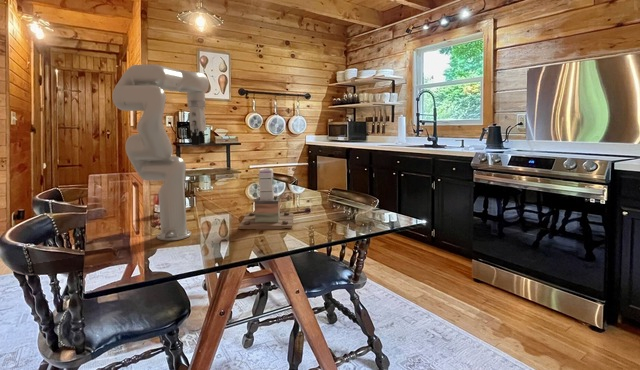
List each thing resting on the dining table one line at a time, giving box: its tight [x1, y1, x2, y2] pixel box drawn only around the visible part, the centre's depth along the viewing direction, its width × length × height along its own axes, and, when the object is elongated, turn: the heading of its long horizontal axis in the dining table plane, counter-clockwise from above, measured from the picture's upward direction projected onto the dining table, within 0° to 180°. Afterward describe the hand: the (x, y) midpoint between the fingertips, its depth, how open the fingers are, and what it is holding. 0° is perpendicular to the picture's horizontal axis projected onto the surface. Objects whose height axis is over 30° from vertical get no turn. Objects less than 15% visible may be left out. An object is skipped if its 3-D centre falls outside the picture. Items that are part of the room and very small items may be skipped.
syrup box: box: [258, 167, 275, 201], centre depth 172 cm, size 6×6×14 cm
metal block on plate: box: [238, 196, 294, 230], centre depth 174 cm, size 22×22×11 cm
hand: (198, 144), depth 177 cm, fingers open, 9 cm apart
